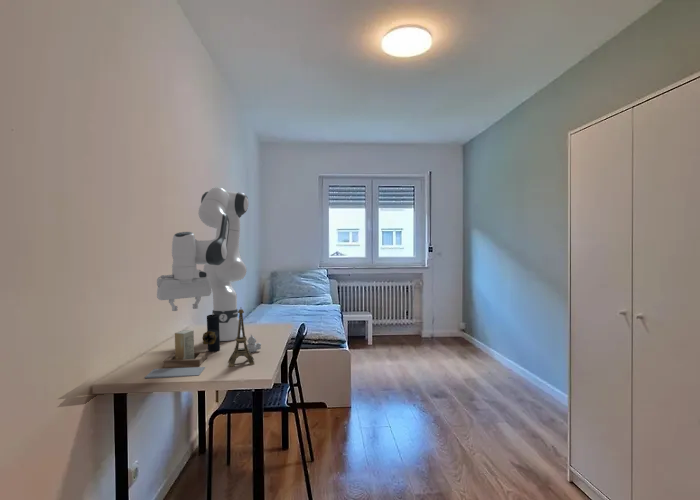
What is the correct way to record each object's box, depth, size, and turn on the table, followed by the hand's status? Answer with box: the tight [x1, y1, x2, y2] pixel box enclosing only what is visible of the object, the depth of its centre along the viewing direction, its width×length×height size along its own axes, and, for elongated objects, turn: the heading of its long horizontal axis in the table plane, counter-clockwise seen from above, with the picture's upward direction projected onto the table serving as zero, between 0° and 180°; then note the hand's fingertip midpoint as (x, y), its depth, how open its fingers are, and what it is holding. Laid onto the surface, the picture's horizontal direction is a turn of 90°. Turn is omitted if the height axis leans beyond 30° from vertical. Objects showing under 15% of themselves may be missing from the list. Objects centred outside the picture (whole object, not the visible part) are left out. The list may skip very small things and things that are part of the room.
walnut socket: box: [162, 351, 207, 369], centre depth 173 cm, size 13×13×2 cm
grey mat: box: [144, 366, 206, 379], centre depth 160 cm, size 10×18×1 cm, turn 97°
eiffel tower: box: [227, 308, 255, 368], centre depth 171 cm, size 11×11×25 cm
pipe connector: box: [202, 314, 221, 353], centre depth 189 cm, size 12×5×15 cm, turn 4°
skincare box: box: [174, 329, 195, 360], centre depth 173 cm, size 6×4×12 cm
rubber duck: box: [246, 334, 262, 354], centre depth 189 cm, size 5×7×8 cm
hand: (185, 309), depth 173 cm, fingers open, 7 cm apart
